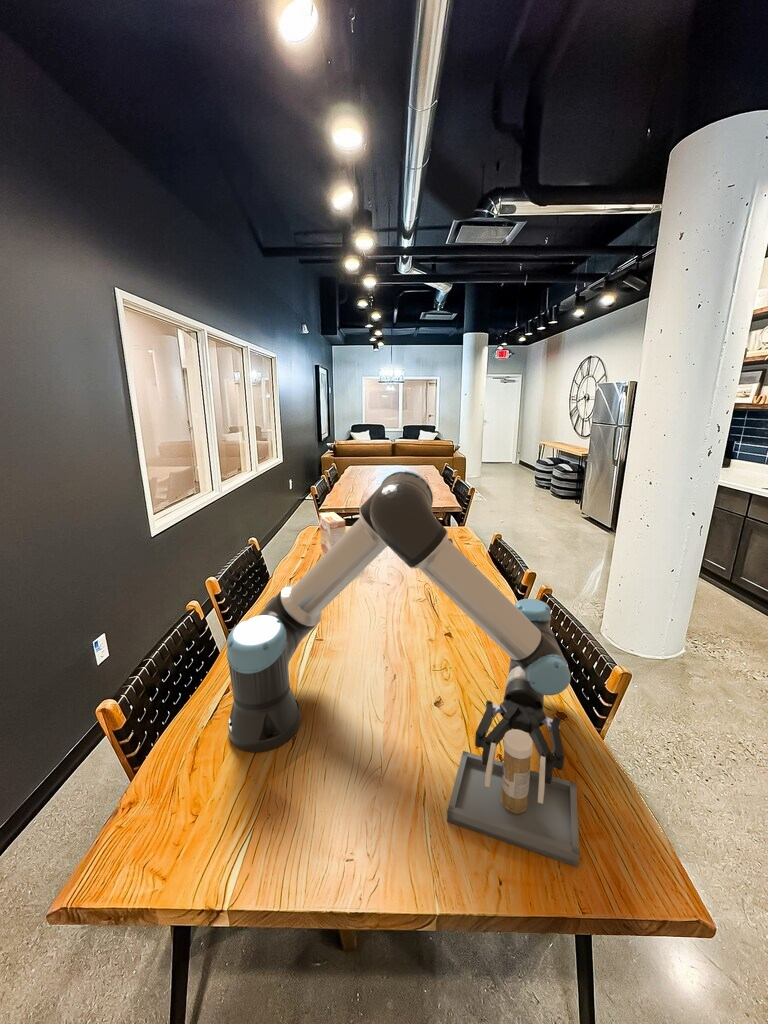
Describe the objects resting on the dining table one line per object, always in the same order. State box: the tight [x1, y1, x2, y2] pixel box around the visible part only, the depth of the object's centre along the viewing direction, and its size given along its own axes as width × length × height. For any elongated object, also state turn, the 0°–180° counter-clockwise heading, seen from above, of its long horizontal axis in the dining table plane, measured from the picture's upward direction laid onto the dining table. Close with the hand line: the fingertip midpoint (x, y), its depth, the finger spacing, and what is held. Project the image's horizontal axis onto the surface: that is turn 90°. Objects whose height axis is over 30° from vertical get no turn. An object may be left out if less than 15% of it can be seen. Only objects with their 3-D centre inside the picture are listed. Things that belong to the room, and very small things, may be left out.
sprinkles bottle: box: [500, 729, 534, 814], centre depth 72 cm, size 5×5×13 cm
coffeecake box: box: [318, 511, 347, 558], centre depth 182 cm, size 15×7×20 cm, turn 25°
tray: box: [446, 750, 580, 868], centre depth 73 cm, size 20×13×2 cm, turn 68°
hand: (513, 787), depth 67 cm, fingers open, 7 cm apart
